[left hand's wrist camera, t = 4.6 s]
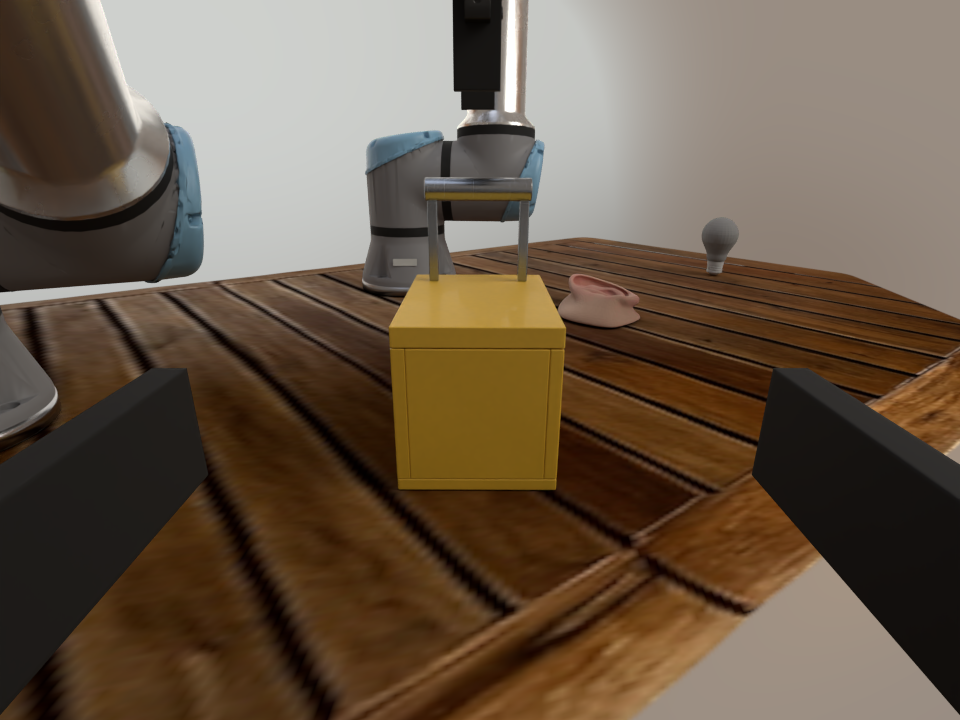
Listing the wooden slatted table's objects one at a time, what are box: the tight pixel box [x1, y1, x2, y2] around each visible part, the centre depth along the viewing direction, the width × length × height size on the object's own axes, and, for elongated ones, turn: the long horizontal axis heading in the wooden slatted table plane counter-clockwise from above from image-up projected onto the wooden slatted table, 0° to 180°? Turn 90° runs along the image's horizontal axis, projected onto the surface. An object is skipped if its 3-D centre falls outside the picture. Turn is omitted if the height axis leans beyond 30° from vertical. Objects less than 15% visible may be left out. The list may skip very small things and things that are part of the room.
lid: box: [389, 178, 566, 349], centre depth 36 cm, size 15×10×9 cm
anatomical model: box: [558, 274, 640, 328], centre depth 73 cm, size 13×4×12 cm
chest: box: [390, 348, 564, 490], centre depth 40 cm, size 14×10×10 cm
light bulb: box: [702, 217, 739, 275], centre depth 96 cm, size 6×6×10 cm
